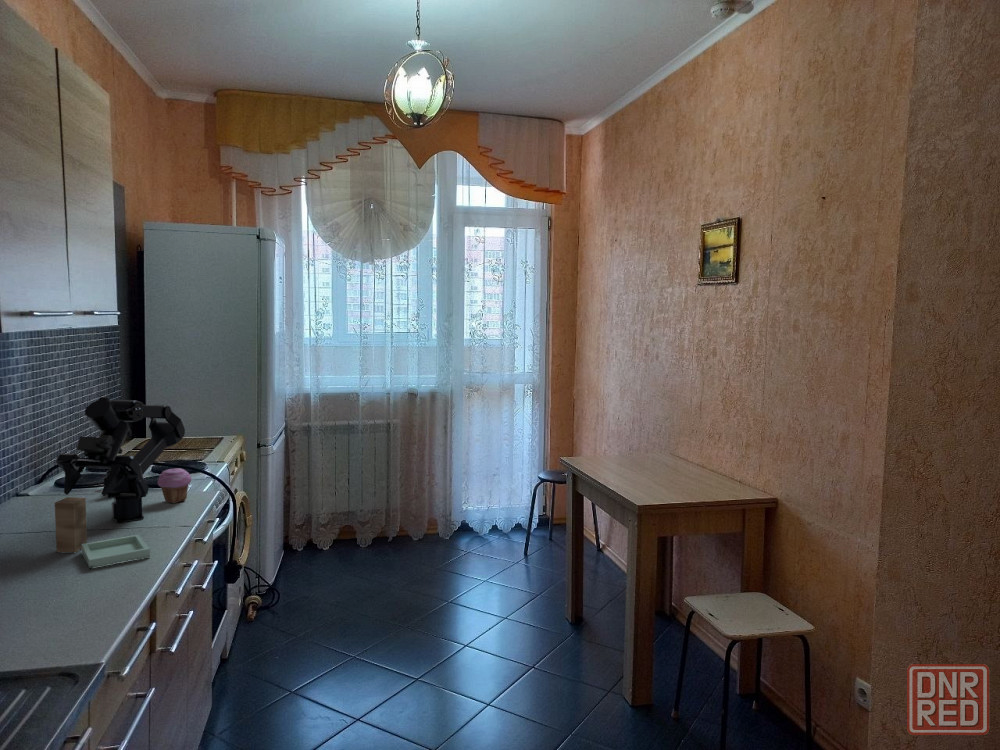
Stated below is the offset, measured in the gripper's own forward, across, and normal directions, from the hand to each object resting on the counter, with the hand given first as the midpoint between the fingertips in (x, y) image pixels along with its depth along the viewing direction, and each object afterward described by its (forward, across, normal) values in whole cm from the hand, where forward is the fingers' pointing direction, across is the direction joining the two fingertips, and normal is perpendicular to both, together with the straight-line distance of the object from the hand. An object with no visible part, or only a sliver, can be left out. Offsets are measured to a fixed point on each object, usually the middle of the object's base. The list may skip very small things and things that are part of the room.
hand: (84, 494), depth 162 cm
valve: (-21, -18, +38) cm, 47 cm away
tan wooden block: (+12, 0, +5) cm, 13 cm away
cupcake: (-16, +4, +33) cm, 37 cm away
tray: (+14, +12, +3) cm, 19 cm away
